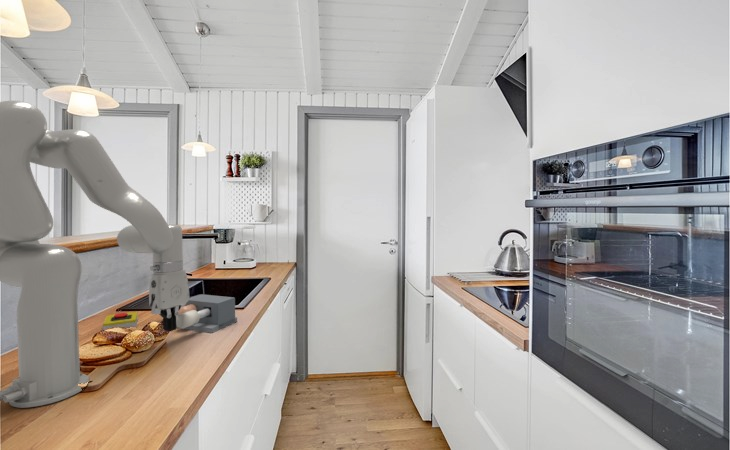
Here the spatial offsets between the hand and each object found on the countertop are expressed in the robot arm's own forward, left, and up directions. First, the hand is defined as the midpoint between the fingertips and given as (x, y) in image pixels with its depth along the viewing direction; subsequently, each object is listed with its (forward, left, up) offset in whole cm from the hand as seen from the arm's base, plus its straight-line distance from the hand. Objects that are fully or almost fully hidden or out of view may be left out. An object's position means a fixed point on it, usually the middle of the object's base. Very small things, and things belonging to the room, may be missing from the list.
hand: (170, 329), depth 100 cm
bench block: (+17, +3, -4) cm, 18 cm away
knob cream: (+10, 0, -1) cm, 10 cm away
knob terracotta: (+15, +6, -1) cm, 16 cm away
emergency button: (+8, +31, -5) cm, 32 cm away
